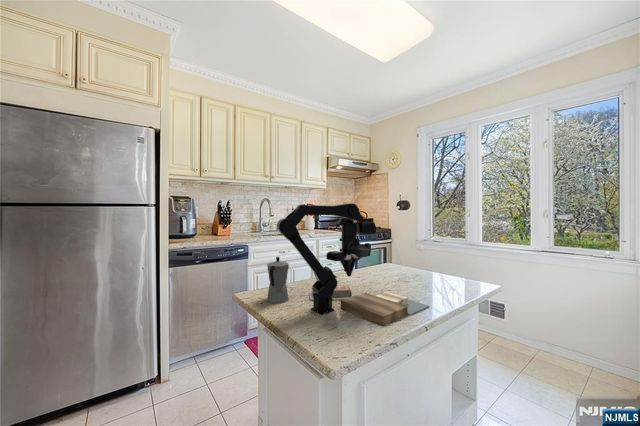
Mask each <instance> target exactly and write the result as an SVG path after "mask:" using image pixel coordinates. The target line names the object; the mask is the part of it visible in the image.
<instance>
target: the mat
mask: <svg viewBox="0 0 640 426" xmlns="http://www.w3.org/2000/svg"><path fill="white" fill-rule="evenodd" d="M384 292H385V291H382V292H379V293H378V292H377V293H376V294H372V295H373V296H375V295H378V294H381V293H384ZM404 306H407V307H408V315H407V316H410V317H411V316H413V315H415V314H417V313H421V311H424V310H426V309H428V308H430V305H428V304H425V303H421V302H418V301H415V300H412V299H408V304H407V305H404Z"/></svg>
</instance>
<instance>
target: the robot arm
mask: <svg viewBox="0 0 640 426" xmlns="http://www.w3.org/2000/svg"><path fill="white" fill-rule="evenodd" d="M305 216H334V217H339V220H337V221H336V225H341V238H339V242H341V248H339V251H337V250H331V251H327V253H326V255H325V256H326V258H325V259H326V260H328V261H333V262H340V264H341V265H342V267H343V269H344V271H345V273H346V276H347V277H352V274H353V271H354V268H355V266H356V263H357V262H358V261H359V260H361V259H362V258H367V257H371V252H372V245H371V243H369V242H366V243H360V239H359V238H357V234H358V235H359V236H374V235H375V234H376V232H377V226H376V223H375V221H374V218H373V217H368V218H364V217H363V215H362V214H361V212H360V211H359V206H358V205H357V204H356V203H352V202H351V203H342V204H335V205H317V204H316V205H315V204H314V205H311V204H309V205H308V204H299V205H297V207H296V208H294V209H293V210H292V211H291V212H290V213H288V215H287V216H286V217H285V218H281V219H278V221H277V223H276V230H277V231H278V233H280V234H281V235H282V236H283V237H284V238H285V239H287V240H288V241H289V242H290V244H292V245H293V246H294V248H295V249H296V251H297V252H298V253H299V255H300V256H301V258H303V260H304V261H305V262H306V264H307V265H308V266H309V268H310V269H311V271H312V272H313V274H314V276H315V279H316V281H315V282H314V283H313V284H312V287H311V289H312V288H313V290H314V291H315V292H316V293H315V294H313V301H312V303H313V307H310V310H311V311H313V312H315V313H317V314H319V315H325V314H327V313H330V312H334V311H335V308H333V300H332V295H333V292H334V290H335V289H336V287H337V285H338V279H337V278H338V276H336V275H335V273H334V272H333V271H332V269H331V268H330V267H328V266H327V265H325V266H323V264H321V262H320V261H319V260H318V258H317V257H316V256H315V254H314V253H313V252H312V250H311V249H310V248H309V247H308V245H307V244H306V243H305V241H304V240H303V239H302V237H301V235H300V232H299V230H298V228H297V226H298V225H299V224H300V222H302V220H303V219H304V218H305Z"/></svg>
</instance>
